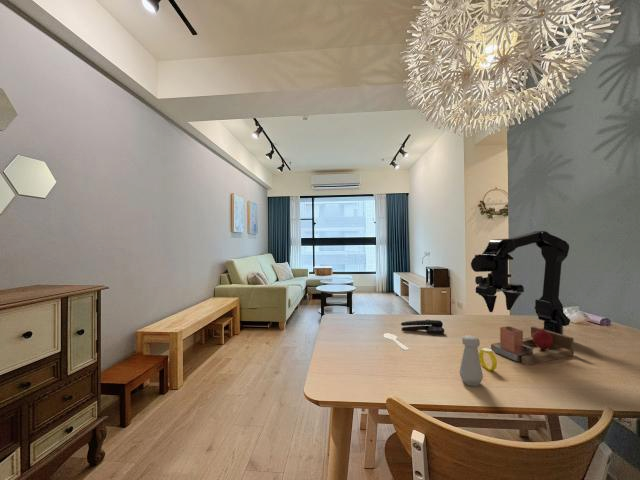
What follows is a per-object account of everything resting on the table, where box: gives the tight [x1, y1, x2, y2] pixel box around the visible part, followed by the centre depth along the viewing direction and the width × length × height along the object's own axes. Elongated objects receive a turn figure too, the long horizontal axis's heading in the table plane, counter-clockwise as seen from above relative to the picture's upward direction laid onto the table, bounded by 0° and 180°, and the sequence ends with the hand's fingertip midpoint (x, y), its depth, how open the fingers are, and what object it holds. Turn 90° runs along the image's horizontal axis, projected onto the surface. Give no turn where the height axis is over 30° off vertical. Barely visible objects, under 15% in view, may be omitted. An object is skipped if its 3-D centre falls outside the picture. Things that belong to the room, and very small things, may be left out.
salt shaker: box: [458, 334, 484, 388], centre depth 77 cm, size 6×6×13 cm
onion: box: [533, 327, 553, 351], centre depth 99 cm, size 6×6×8 cm
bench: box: [490, 326, 575, 366], centre depth 97 cm, size 22×13×6 cm, turn 108°
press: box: [493, 325, 534, 362], centre depth 94 cm, size 7×8×9 cm
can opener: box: [400, 318, 445, 336], centre depth 119 cm, size 18×7×6 cm, turn 74°
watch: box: [478, 347, 498, 372], centre depth 85 cm, size 6×3×6 cm, turn 9°
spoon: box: [383, 332, 410, 351], centre depth 109 cm, size 5×18×1 cm, turn 11°
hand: (499, 311), depth 107 cm, fingers open, 9 cm apart
